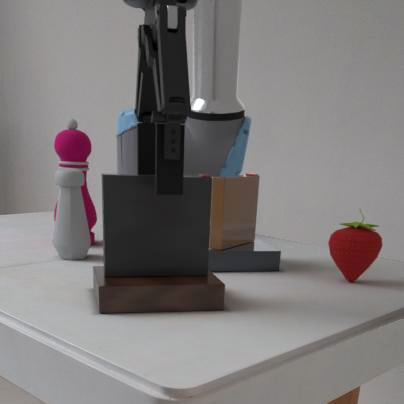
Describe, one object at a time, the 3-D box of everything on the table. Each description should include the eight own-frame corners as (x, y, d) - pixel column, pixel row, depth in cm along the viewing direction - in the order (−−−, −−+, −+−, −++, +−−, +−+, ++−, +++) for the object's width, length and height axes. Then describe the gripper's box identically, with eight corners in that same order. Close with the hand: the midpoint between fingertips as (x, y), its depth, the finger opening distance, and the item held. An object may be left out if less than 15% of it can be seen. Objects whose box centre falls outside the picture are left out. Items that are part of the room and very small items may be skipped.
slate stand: (201, 271, 82) (202, 251, 81) (187, 257, 91) (187, 239, 90) (279, 271, 84) (281, 251, 83) (257, 257, 93) (259, 239, 92)
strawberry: (317, 276, 82) (325, 206, 79) (366, 276, 83) (376, 207, 80) (332, 286, 77) (341, 211, 73) (383, 286, 78) (396, 212, 74)
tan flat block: (220, 250, 82) (225, 176, 78) (209, 248, 83) (212, 175, 79) (254, 240, 90) (259, 173, 87) (243, 239, 91) (248, 173, 88)
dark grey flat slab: (105, 276, 64) (102, 172, 59) (103, 272, 65) (101, 171, 61) (208, 275, 66) (212, 175, 62) (203, 271, 68) (208, 174, 64)
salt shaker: (56, 261, 84) (52, 169, 79) (50, 254, 89) (45, 167, 84) (95, 260, 86) (93, 170, 81) (87, 252, 91) (84, 167, 86)
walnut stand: (99, 313, 61) (98, 286, 60) (93, 289, 70) (92, 265, 69) (223, 310, 64) (225, 284, 63) (203, 287, 73) (204, 264, 72)
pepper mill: (88, 248, 94) (84, 118, 87) (48, 244, 96) (40, 116, 88) (103, 241, 101) (101, 120, 94) (65, 238, 102) (60, 118, 95)
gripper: (234, -77, 44) (219, 202, 52) (174, -11, 66) (170, 177, 75) (138, -90, 42) (139, 201, 50) (109, -17, 65) (113, 176, 73)
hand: (157, 187), depth 63 cm, fingers open, 13 cm apart
